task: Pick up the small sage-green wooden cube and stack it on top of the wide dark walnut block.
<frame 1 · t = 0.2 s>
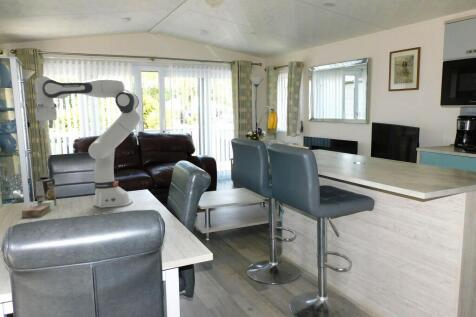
hand: (47, 128, 215), 47 cm above the table, tool pointing down, fingers open, 8 cm apart
sage cube: (48, 209, 213), on the table
walnut block: (36, 215, 203), on the table
coffee box: (47, 206, 222), on the table
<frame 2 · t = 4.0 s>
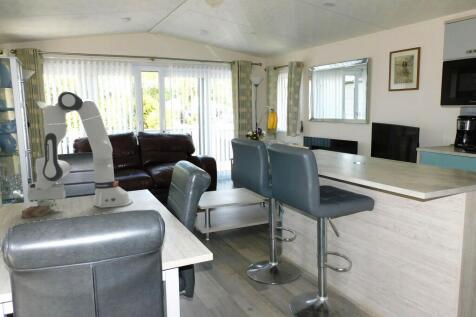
hand: (48, 207, 212), 2 cm above the table, tool pointing down, fingers closed on sage cube, 5 cm apart
sage cube: (48, 209, 213), on the table, touching gripper
everything else where it was.
when the fingers open (7 cm above the table, at t = 11.1 s): sage cube drops 1 cm, point 4 cm above the table.
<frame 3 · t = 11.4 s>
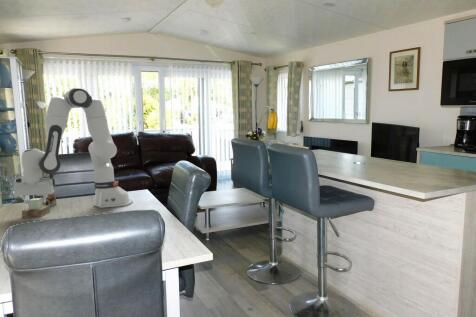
hand: (35, 202, 202), 7 cm above the table, tool pointing down, fingers open, 8 cm apart
sage cube: (35, 208, 202), point 4 cm above the table
everything else where it was.
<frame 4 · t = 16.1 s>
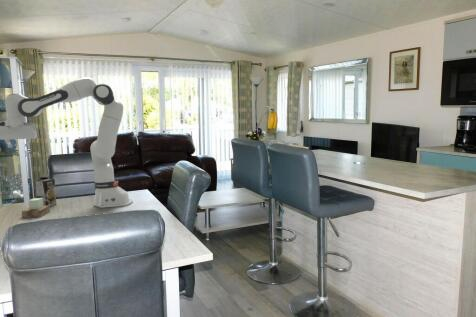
hand: (18, 147, 207), 37 cm above the table, tool pointing down, fingers open, 8 cm apart
nothing on the table moved.
at the end: sage cube 0.4 cm off-centre on the walnut block, point 4.0 cm above the walnut block's base; sage cube tilted 0°; the gripper is holding nothing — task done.
